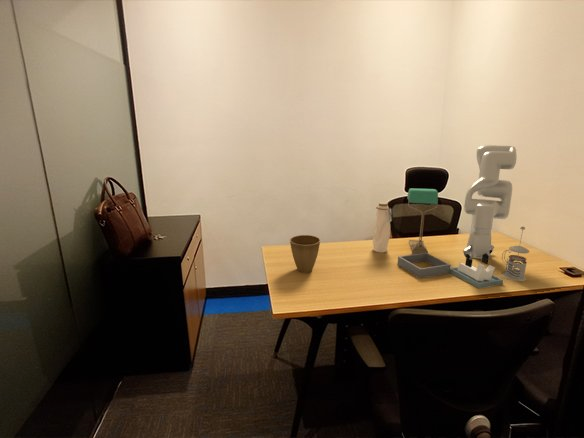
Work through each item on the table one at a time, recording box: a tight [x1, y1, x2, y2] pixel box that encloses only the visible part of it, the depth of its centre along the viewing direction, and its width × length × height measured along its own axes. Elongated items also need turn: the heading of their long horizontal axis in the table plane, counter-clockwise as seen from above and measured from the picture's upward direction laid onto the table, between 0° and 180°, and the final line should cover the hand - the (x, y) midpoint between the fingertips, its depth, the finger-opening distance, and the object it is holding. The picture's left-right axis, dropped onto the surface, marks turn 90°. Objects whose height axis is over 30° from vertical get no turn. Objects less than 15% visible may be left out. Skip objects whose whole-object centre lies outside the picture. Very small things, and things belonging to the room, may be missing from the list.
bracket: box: [457, 262, 496, 282], centre depth 162 cm, size 13×7×8 cm, turn 16°
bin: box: [397, 252, 451, 279], centre depth 173 cm, size 18×18×4 cm
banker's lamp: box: [406, 187, 439, 254], centre depth 199 cm, size 16×21×35 cm
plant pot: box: [289, 234, 321, 273], centre depth 171 cm, size 15×15×16 cm
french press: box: [501, 226, 530, 282], centre depth 162 cm, size 10×12×25 cm
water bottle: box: [372, 201, 393, 253], centre depth 196 cm, size 10×9×28 cm
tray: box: [449, 264, 504, 289], centre depth 163 cm, size 14×19×2 cm
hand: (476, 264), depth 162 cm, fingers open, 9 cm apart
